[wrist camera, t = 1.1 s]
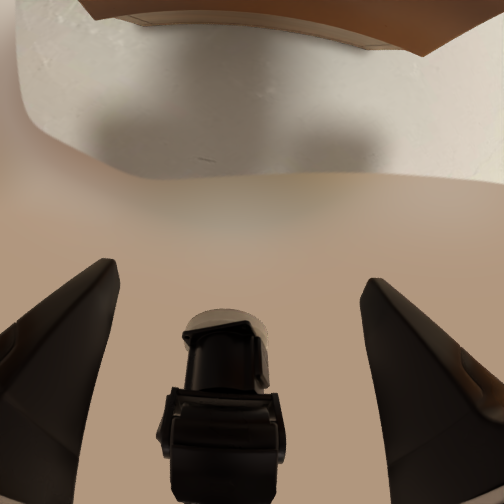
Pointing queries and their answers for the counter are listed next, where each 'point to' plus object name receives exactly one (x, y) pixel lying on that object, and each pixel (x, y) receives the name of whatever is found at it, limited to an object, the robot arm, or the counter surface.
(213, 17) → the box
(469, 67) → the counter surface
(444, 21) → the lid
